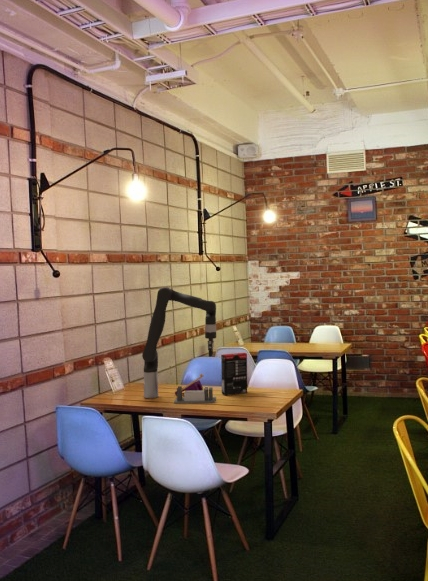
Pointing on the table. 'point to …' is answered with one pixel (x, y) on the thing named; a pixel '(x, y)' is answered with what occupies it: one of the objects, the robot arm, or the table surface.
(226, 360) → the graphics card box
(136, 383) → the table surface
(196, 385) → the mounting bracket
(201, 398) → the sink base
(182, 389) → the strap
